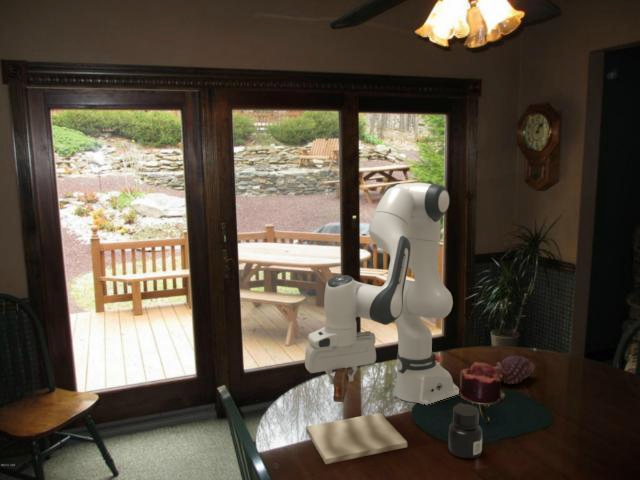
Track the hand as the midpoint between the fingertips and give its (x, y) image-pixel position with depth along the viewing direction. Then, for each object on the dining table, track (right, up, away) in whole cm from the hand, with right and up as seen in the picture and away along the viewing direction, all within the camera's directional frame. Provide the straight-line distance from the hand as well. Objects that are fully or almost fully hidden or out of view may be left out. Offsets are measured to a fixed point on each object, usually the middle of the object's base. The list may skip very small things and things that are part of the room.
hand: (341, 382), depth 147 cm
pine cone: (+63, -11, +39) cm, 75 cm away
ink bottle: (+34, -18, -3) cm, 39 cm away
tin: (-1, -4, 0) cm, 4 cm away
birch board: (+4, -17, +4) cm, 18 cm away
